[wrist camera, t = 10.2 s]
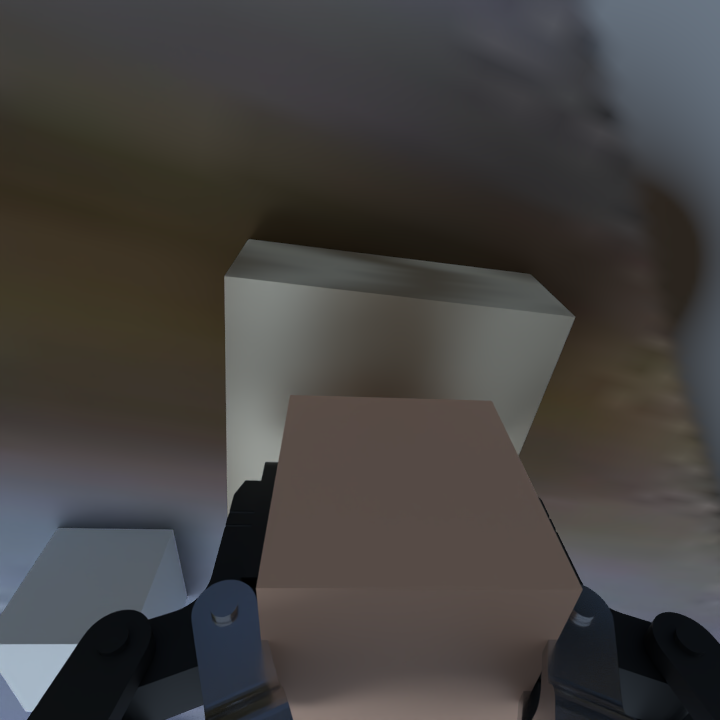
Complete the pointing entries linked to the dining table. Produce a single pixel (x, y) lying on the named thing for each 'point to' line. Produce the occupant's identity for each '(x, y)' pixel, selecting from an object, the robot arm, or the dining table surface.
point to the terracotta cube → (407, 563)
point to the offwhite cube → (83, 598)
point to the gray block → (377, 339)
